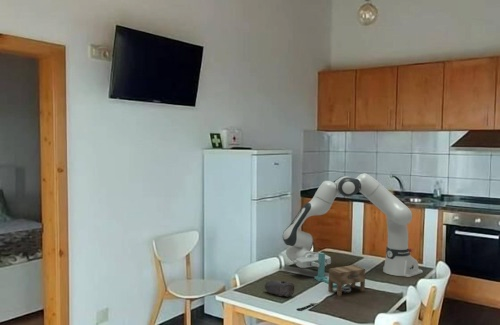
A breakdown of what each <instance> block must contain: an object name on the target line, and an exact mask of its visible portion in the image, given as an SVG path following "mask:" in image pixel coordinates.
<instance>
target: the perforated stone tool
mask: <svg viewBox="0 0 500 325" xmlns="http://www.w3.org/2000/svg"><path fill="white" fill-rule="evenodd" d="M264 289H265V290H266V292H268V293H269V294H271V295H273V294H274V295H275V296H279V297H286V298H289V297H292V296H293V295H294V293H295V284H294V283H293V282H289V281H285V280H270V281H266V282H265V284H264Z"/></svg>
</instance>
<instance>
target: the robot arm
mask: <svg viewBox="0 0 500 325" xmlns="http://www.w3.org/2000/svg"><path fill="white" fill-rule="evenodd" d="M358 193H360V194H362V195H363V196H364V197H365V198H366V199H367V200H369V201H370V203H371V204H373V205H374V206H375V207H376V208H378V210H379V211H381V212H382V213H383V214H384V215H385V216H386V227H387V228H386V229H387V238H386V239H387V246H386V248H385V249H386V250H385V253H386V254H385V259H384V265H383V267H382V269H383V270H382V272H383V273H384V274H387V275H391V276H397V277H404V278H405V277H407V278H411V277H413V276H417V275H419V274H422V273H424V272H423V270H422V269H421V268H419V262H418V260H417V259H416V258H414V257H413V256H412V255H411V253H414V249H413V248H410V247H409V230H408V225H409V224H410V223H411V222H412V219H413V213H412V210H411V209H410V208H409V207H408V206H407V205H406V204H405V203H403V202H402V201H401V200H400V199H399V198H398V197H397V196H395V195H394V194H393V193H392V192H390V190H388V189H387V188H386V187H385V185H383V184H381V183H380V182H379V180H376V178H374V177H373V176H372V175H370V174H368V173H365V172H364V173H361V174H359V175H358V176H357V177H355V178H353V177H352V176H347V175H342V176H340V177H337V179H335V180H334V181H331V180H323V181H322V183H321V184H320V186H319V187H318V188H317V190H316V191H315V193H314V196H313V197H312V198H311V200H310V201H308V202H307V203H304V204H303V206H302V207H301V208H300V210H299V211H298V212H297V213H296V215H295V217H294V218H293V220H292V221H291V222H290V223H289V226H287V227H286V228H285V230H284V231H283V234H282V240H283V242H284V244H285V246H288V247H287V248H286V251H285V253H286V257H287V258H288V260H290V261H291V262H293V263H294V264H295V265H296V266H297V267H298V268H301V269H305V268H311V267H317V268H318V267H321V264H320V263H318V255H319V253H322V252H321V251H317V250H316V251H312V248H313V246H314V238H313V235H312V234H311V233H309V232H305V231H303V230H300V229H301V227H302V225H303V224H304V223H305V221H306V220H307V219H308V218H310V217H312V216H313V217H314V216H322V215H325V214H327V213H328V211H330V209H331V207H332V205H333V203H334V201H335V199H336V198H337V197H338V196H339V195H341V196H343V197H346V198H347V197H352V196H354V195H356V194H358ZM331 263H332V258H331V256H329V255H327V254H325V267H327V265H331Z"/></svg>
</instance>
